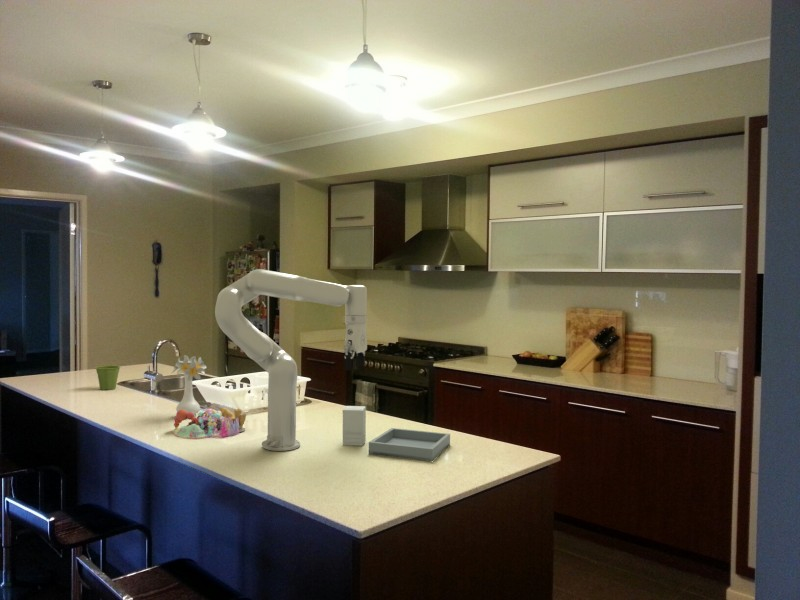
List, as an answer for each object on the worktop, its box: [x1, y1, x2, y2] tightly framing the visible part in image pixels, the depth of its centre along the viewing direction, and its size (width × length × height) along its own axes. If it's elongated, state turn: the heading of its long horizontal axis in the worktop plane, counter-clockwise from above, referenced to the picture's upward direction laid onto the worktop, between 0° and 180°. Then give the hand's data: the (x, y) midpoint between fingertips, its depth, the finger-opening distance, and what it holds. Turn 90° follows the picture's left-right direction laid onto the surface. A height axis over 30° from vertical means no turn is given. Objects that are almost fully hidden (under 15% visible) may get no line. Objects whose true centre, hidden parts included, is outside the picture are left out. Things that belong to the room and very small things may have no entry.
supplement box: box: [342, 405, 367, 447], centre depth 221 cm, size 7×7×13 cm
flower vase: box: [171, 354, 207, 418], centre depth 258 cm, size 13×18×25 cm
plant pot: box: [94, 365, 121, 391], centre depth 318 cm, size 12×12×11 cm
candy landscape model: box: [172, 407, 247, 440], centre depth 234 cm, size 25×24×9 cm
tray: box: [368, 427, 451, 462], centre depth 214 cm, size 22×22×4 cm
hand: (354, 368), depth 222 cm, fingers open, 9 cm apart
